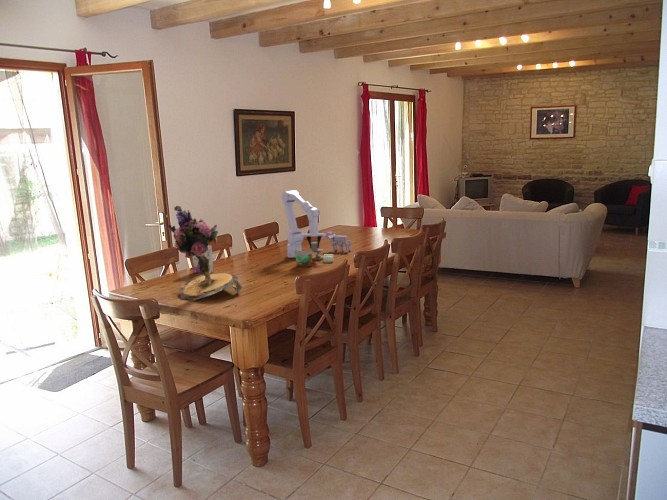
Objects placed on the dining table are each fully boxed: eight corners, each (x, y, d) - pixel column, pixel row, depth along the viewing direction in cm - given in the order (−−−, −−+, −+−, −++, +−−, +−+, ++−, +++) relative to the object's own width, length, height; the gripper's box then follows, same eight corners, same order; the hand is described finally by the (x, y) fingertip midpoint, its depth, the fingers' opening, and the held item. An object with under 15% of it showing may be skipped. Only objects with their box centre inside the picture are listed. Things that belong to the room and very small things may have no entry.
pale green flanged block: (323, 262, 338) (323, 257, 338) (324, 259, 346) (323, 254, 345) (333, 262, 338) (333, 256, 337) (333, 259, 346) (333, 254, 345)
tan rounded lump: (311, 260, 346) (311, 251, 345) (312, 257, 354) (312, 248, 353) (324, 259, 346) (323, 250, 345) (324, 257, 354) (324, 248, 353)
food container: (291, 266, 330) (290, 251, 328) (296, 264, 335) (295, 249, 333) (308, 268, 324) (307, 252, 322) (313, 266, 330) (312, 250, 327)
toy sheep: (320, 252, 370) (320, 232, 368) (325, 249, 380) (325, 230, 378) (347, 253, 364) (347, 233, 362) (352, 250, 374) (352, 231, 371)
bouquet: (142, 293, 269) (158, 205, 273) (216, 301, 301) (229, 223, 305) (175, 300, 246) (192, 204, 250) (252, 309, 277) (266, 224, 281)
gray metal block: (311, 251, 341) (311, 243, 340) (311, 249, 345) (311, 242, 344) (317, 250, 341) (317, 243, 340) (317, 249, 345) (317, 242, 344)
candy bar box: (193, 273, 322) (190, 246, 319) (197, 271, 327) (195, 245, 324) (210, 273, 319) (207, 247, 316) (214, 271, 324) (211, 245, 321)
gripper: (301, 228, 336) (302, 249, 339) (324, 227, 336) (325, 248, 339) (302, 226, 343) (303, 247, 346) (325, 225, 343) (325, 246, 346)
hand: (314, 248), depth 343 cm, fingers closed on gray metal block, 4 cm apart
